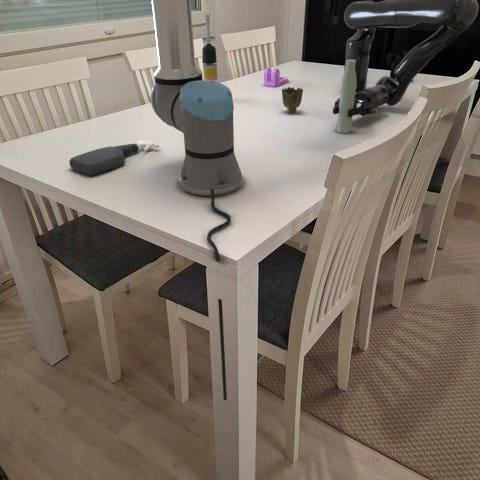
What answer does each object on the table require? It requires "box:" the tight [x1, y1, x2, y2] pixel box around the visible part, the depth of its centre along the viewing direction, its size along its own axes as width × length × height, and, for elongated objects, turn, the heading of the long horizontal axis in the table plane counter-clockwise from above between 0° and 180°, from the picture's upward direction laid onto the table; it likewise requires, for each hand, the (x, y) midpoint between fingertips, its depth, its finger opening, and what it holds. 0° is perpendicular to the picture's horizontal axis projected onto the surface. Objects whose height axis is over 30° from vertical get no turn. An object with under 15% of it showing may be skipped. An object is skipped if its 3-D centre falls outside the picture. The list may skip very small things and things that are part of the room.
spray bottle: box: [68, 139, 160, 177], centre depth 124 cm, size 3×11×24 cm
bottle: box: [336, 60, 357, 134], centre depth 137 cm, size 4×4×21 cm
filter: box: [201, 14, 218, 82], centre depth 171 cm, size 6×6×30 cm
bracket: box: [263, 67, 289, 88], centre depth 197 cm, size 13×6×7 cm, turn 143°
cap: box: [333, 15, 340, 25], centre depth 124 cm, size 4×4×2 cm
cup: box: [281, 86, 304, 114], centre depth 159 cm, size 8×7×8 cm
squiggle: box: [385, 51, 409, 82], centre depth 198 cm, size 11×10×15 cm
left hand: (330, 23), depth 125 cm, fingers closed on cap, 4 cm apart
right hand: (341, 112), depth 137 cm, fingers closed on bottle, 4 cm apart
